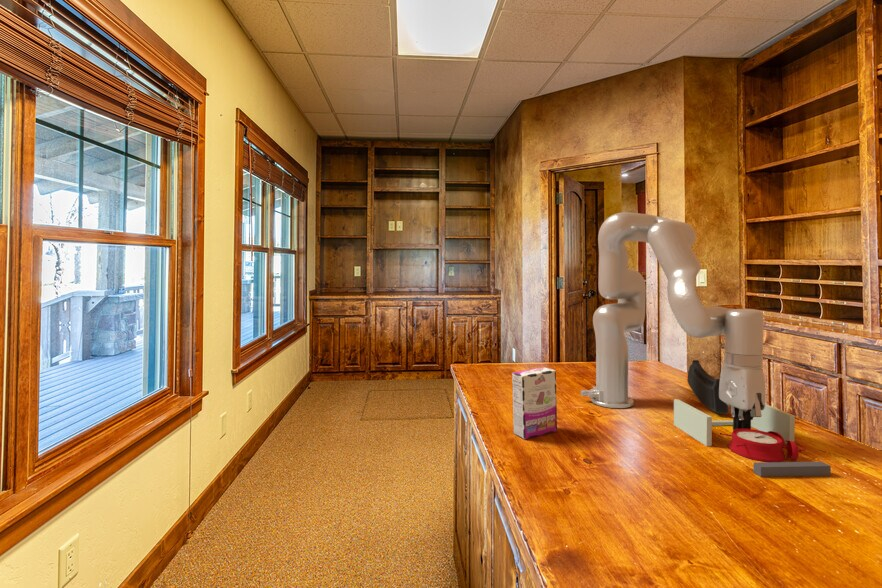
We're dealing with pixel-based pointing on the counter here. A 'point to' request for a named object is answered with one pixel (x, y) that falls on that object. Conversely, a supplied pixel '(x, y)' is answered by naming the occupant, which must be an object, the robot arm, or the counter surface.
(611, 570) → the counter surface
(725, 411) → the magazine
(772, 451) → the alarm clock
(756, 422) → the shelf bay
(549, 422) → the candy bar box
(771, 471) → the rail
